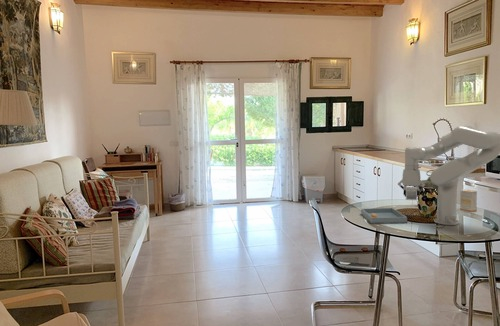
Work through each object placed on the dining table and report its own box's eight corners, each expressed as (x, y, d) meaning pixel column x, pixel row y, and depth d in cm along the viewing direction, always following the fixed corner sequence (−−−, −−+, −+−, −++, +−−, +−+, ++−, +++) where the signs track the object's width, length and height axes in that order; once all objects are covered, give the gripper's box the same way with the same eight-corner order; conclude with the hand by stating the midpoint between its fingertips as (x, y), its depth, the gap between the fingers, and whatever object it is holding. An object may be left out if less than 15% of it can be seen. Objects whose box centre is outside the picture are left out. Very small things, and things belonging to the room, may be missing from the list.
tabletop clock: (438, 204, 247) (438, 169, 245) (445, 207, 238) (446, 170, 236) (417, 205, 248) (418, 169, 245) (424, 208, 238) (424, 171, 236)
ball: (376, 213, 213) (377, 213, 209) (376, 219, 212) (377, 219, 209) (370, 213, 213) (370, 213, 210) (370, 219, 213) (371, 219, 209)
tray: (407, 223, 203) (407, 217, 203) (371, 223, 205) (371, 217, 204) (392, 213, 227) (392, 208, 227) (361, 214, 228) (361, 208, 228)
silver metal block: (416, 200, 211) (416, 190, 210) (405, 199, 213) (405, 189, 213) (416, 196, 222) (416, 187, 221) (405, 196, 224) (405, 186, 224)
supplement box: (477, 211, 225) (477, 190, 224) (471, 212, 223) (472, 191, 222) (464, 208, 233) (465, 189, 232) (459, 209, 231) (460, 189, 230)
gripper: (426, 166, 216) (426, 195, 218) (396, 166, 223) (396, 194, 225) (427, 168, 209) (427, 198, 211) (396, 167, 216) (395, 196, 218)
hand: (411, 196), depth 218 cm, fingers closed on silver metal block, 6 cm apart
